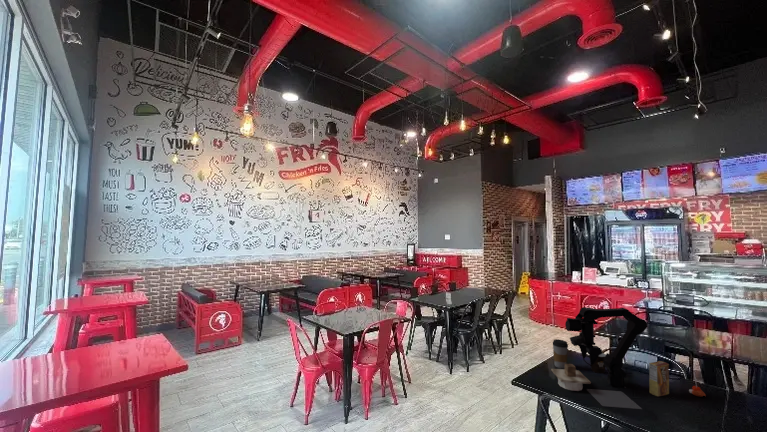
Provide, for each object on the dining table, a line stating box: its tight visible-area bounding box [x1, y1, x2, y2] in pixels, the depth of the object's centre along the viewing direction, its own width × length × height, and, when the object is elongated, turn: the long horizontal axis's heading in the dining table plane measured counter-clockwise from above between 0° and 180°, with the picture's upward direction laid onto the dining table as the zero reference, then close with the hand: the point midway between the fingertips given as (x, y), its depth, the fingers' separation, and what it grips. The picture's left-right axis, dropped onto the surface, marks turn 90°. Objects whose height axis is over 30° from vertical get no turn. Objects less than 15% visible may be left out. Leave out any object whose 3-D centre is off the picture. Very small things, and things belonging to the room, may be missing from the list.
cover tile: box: [551, 363, 592, 385], centre depth 176 cm, size 14×14×6 cm
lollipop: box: [688, 371, 707, 397], centre depth 167 cm, size 6×10×12 cm, turn 146°
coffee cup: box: [552, 339, 569, 369], centre depth 202 cm, size 8×8×15 cm
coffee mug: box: [582, 352, 607, 375], centre depth 196 cm, size 12×9×10 cm
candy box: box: [648, 360, 670, 397], centre depth 169 cm, size 9×4×15 cm, turn 110°
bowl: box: [557, 378, 584, 392], centre depth 175 cm, size 11×11×5 cm
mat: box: [585, 388, 643, 410], centre depth 162 cm, size 17×17×1 cm
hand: (587, 361), depth 179 cm, fingers open, 9 cm apart
